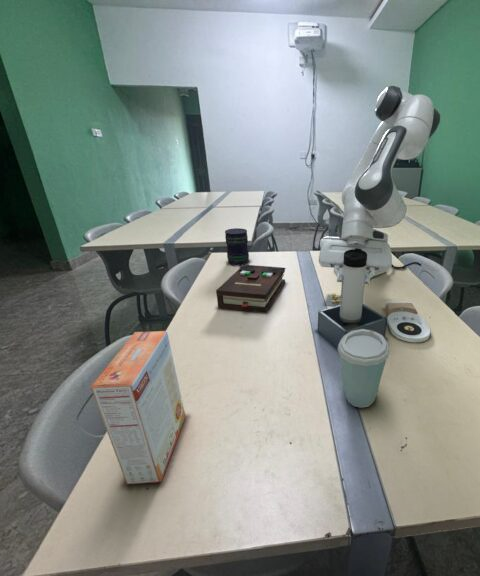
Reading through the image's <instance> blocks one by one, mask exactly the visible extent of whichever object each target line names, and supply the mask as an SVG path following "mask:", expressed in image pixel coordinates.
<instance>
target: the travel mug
mask: <svg viewBox="0 0 480 576" xmlns="http://www.w3.org/2000/svg"><path fill="white" fill-rule="evenodd" d="M366 261H367V253H366V252H365V251H362V249H358V248H355V249H352V250H348V251H346V252H345V253H344V261H343V272H342V282H341V286H340V287H341V289H340V295H341V302H340V319H341V320H342V321H344V322H347V324H356V323H358V322H359V321H360V320H361V314H362V305H363V304H364V295H365V286H366V284H365V283H364V282H365V275H366Z"/></svg>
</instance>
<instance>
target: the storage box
mask: <svg viewBox="0 0 480 576" xmlns="http://www.w3.org/2000/svg"><path fill="white" fill-rule="evenodd" d="M387 318H388V317H386V316H384V315H382V313H381V314H380V313H379V312H377V311H375V310H374V309H373V308H371V307H370V306H368V305H366V304H364V303H363V305H362V314H361V320H360V321H359V322H357V323H358V324H359V326H356V327H353V328H350V329H345V328H344V327H343V326H344V325H346V324H348V323H347V322H344V321H342V320H341V319H340V305H338V306H330V307H327V308H325V309H321V310H318V312H317V332H318V334H320V335H321V336H322V337H323V338H324V339H326V340H327V341H328V342H329V343H331V344H332V345H333V346H334V347H335V348H336V349H337V350H338V345H339V343H340V341H341V339H342V338H343V336H344V335H346V334H347V333H349V332H351V331H354V330H359V329H366V330H371V331H375V332H377V333H379V334H381V335H382V336H383V337H384V339H385V340H386V331H387V326H388V323H387Z"/></svg>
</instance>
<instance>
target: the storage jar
mask: <svg viewBox="0 0 480 576" xmlns="http://www.w3.org/2000/svg"><path fill="white" fill-rule="evenodd" d="M224 234H225V235H224V236H225V238H224V239H225V244H226V250H227V251H226V257H227V264H228V265H230V266H233V267H234V266H236V267H238V266H237V265H242V266H243V265H249V263H250V260H249V259H250V254H249V253H250V251H249V248H248V247H249V246H248V244H249V240H248V238H249V237H248V230H247V229H245V228H238V227H237V228H228V229H226V230H224Z"/></svg>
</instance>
